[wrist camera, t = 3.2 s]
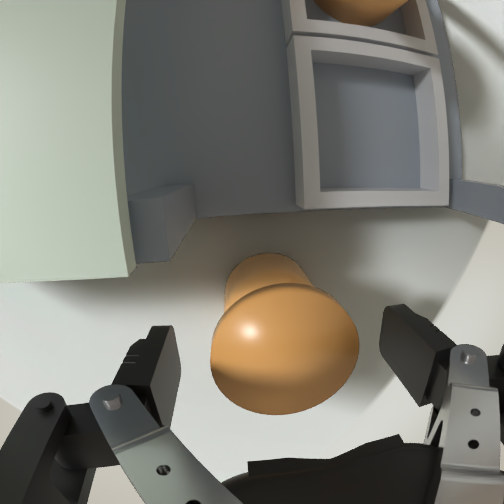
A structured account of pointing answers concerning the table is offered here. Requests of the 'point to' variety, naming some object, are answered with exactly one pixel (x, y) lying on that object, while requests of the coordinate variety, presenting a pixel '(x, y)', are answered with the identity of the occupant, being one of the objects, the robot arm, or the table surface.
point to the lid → (62, 142)
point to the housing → (286, 115)
